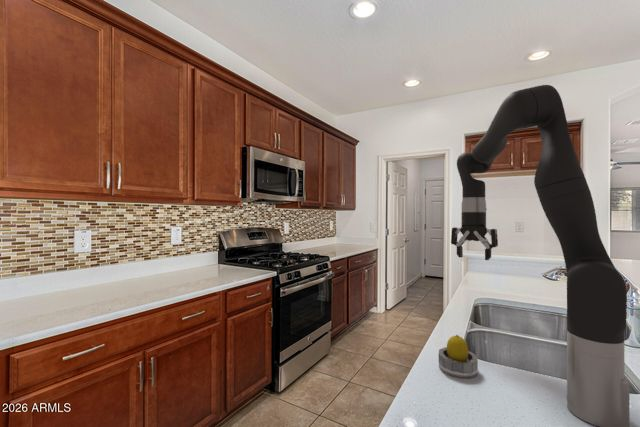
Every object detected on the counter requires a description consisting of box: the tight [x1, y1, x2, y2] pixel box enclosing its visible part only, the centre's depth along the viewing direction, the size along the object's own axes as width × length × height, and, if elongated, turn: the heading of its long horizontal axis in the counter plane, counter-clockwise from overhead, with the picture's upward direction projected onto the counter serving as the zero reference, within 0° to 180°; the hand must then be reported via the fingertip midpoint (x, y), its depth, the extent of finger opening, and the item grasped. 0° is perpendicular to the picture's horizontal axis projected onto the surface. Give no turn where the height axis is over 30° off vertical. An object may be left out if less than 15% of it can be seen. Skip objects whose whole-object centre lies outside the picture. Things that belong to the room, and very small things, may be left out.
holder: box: [438, 346, 479, 380], centre depth 85 cm, size 10×10×4 cm
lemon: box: [446, 334, 469, 361], centre depth 85 cm, size 6×6×8 cm
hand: (473, 258), depth 104 cm, fingers open, 8 cm apart
